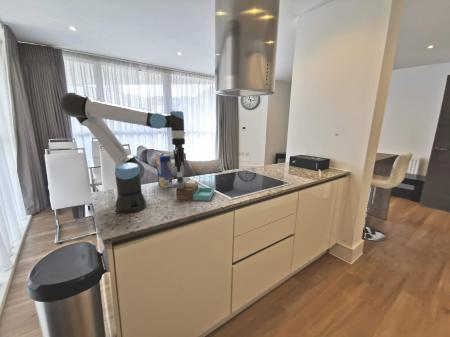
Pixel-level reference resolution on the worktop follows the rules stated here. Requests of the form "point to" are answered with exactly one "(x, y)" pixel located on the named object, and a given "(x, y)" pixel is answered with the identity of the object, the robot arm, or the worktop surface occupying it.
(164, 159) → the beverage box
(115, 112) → the robot arm
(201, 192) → the tray
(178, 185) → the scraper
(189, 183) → the tile
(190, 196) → the brown wooden box
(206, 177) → the worktop surface
